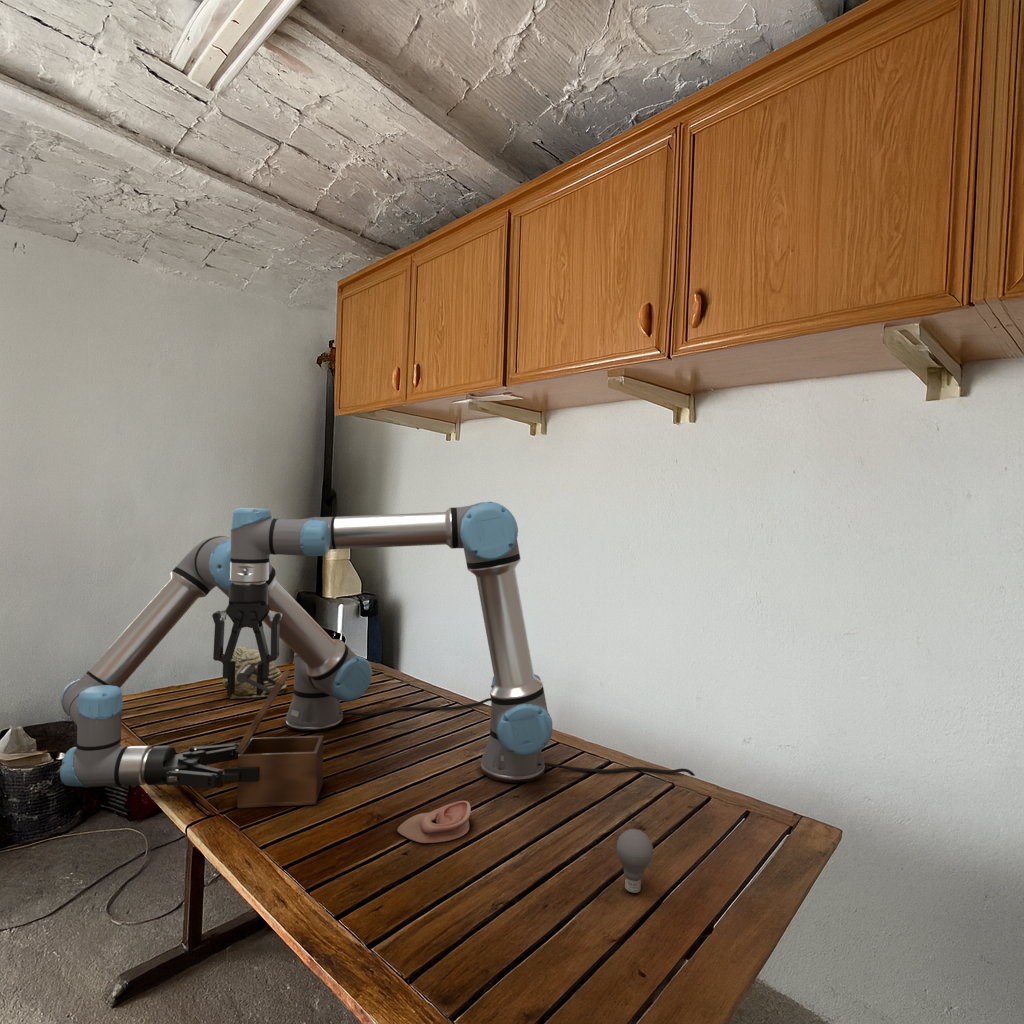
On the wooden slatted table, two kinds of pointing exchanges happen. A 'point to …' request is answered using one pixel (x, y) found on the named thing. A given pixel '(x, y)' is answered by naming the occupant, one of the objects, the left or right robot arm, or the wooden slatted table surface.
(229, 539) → the left robot arm
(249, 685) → the fossil
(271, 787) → the chest
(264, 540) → the right robot arm
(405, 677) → the wooden slatted table surface
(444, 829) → the anatomical model
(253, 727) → the lid
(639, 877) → the light bulb
